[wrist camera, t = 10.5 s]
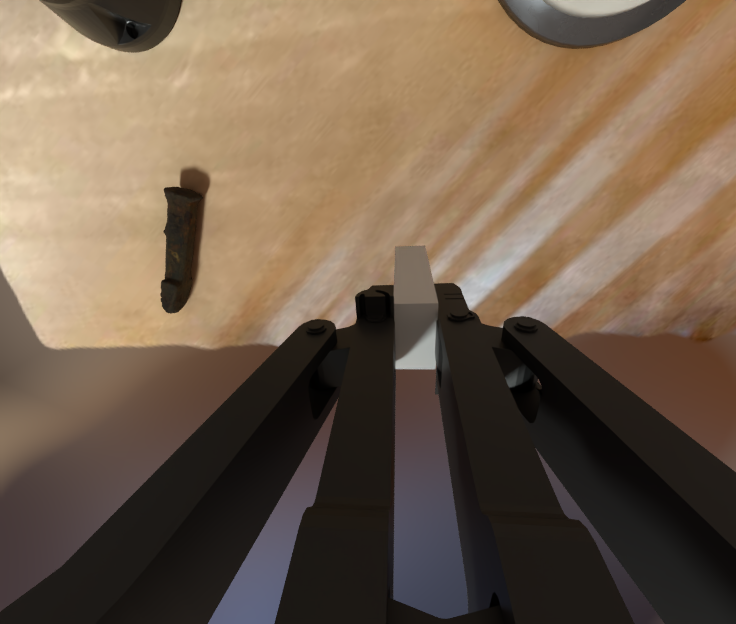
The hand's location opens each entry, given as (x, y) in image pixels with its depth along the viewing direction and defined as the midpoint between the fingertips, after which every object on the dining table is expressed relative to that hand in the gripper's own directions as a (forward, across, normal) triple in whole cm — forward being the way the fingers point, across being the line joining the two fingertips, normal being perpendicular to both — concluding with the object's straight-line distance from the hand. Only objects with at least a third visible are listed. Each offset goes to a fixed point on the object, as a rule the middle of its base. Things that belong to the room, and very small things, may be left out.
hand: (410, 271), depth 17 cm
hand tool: (+29, -32, -7) cm, 43 cm away
